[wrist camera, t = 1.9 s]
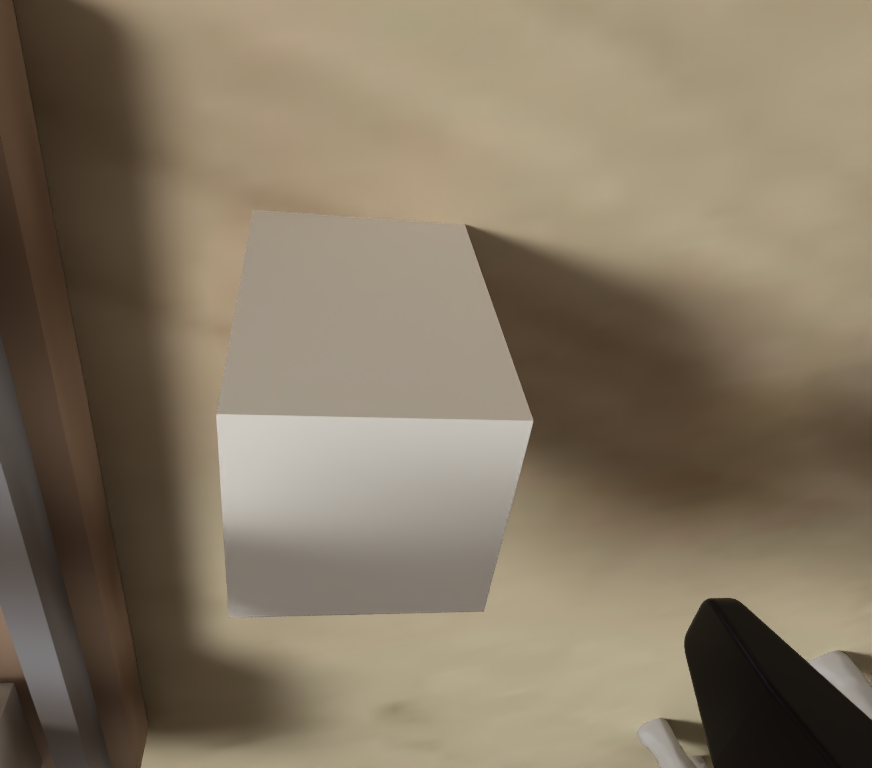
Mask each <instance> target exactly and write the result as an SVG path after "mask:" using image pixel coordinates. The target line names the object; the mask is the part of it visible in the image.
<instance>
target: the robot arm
mask: <svg viewBox="0 0 872 768" xmlns="http://www.w3.org/2000/svg"><path fill="white" fill-rule="evenodd" d="M684 647H685V654H686V659H687V663H688V667H689V671H690V675H691V679H692V683H693V687H694V691H695V695H696V699H697V703H698V707H699V711H700V716H701V720H702V724H703V728H704V732H705V736H706V740H707V744H708V748H709V751H710V755H711V759H712V762H713V766H714V768H872V719H870V718H869V717H868V716H867V715H866V714H865V713H864V712H863V711H862V710H860V709H859V708H858V707H857V706H856V705H855V704H854V703H853V702H851V701H850V700H849V699H848V698H847V697H846V696H845V695H844V694H843V693H841V692H840V691H839V690H838V689H837V688H836V687H835V686H834V685H833V684H831V683H830V682H829V681H828V680H827V679H826V678H825V677H824V676H823V675H821V674H820V673H819V672H818V671H817V670H816V669H815V668H814V667H813V666H811V665H810V664H809V663H808V662H807V661H806V660H805V659H804V658H802V657H801V656H800V655H799V654H798V653H797V652H796V651H795V650H794V649H792V648H791V647H790V646H789V645H788V644H787V643H786V642H785V641H784V640H782V639H781V638H780V637H779V636H778V635H777V634H776V633H775V632H774V631H772V630H771V629H770V628H769V627H768V626H767V625H766V624H765V623H764V622H762V621H761V620H760V619H759V618H758V617H757V616H756V615H755V614H753V613H752V612H751V611H750V610H749V609H748V608H747V607H746V606H745V605H743V604H742V603H741V602H739V601H738V600H736V599H732V598H710V599H707V600H705V601H704V602H703V603H702V604H701V606H700V608H699V610H698V612H697V614H696V615H695V617H694V619H693V621H692V623H691V625H690V627H689V629H688V631H687V633H686V636H685V641H684Z"/></svg>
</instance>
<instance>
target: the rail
mask: <svg viewBox="0 0 872 768" xmlns="http://www.w3.org/2000/svg"><path fill="white" fill-rule="evenodd" d="M147 732H148V721H147V716H146V711H145V705H144V700H143V695H142V689H141V684H140V679H139V673H138V668H137V663H136V657H135V652H134V647H133V641H132V636H131V630H130V625H129V620H128V614H127V609H126V604H125V598H124V593H123V588H122V582H121V577H120V572H119V566H118V561H117V556H116V550H115V545H114V540H113V534H112V529H111V524H110V518H109V513H108V508H107V502H106V497H105V492H104V486H103V481H102V476H101V470H100V465H99V460H98V454H97V449H96V443H95V438H94V433H93V427H92V422H91V417H90V411H89V406H88V401H87V395H86V390H85V385H84V379H83V374H82V369H81V363H80V358H79V353H78V347H77V342H76V337H75V331H74V326H73V321H72V315H71V310H70V305H69V299H68V294H67V289H66V283H65V278H64V272H63V267H62V262H61V256H60V251H59V246H58V240H57V235H56V230H55V224H54V219H53V214H52V208H51V203H50V198H49V192H48V187H47V182H46V176H45V171H44V166H43V160H42V155H41V150H40V144H39V139H38V134H37V128H36V123H35V118H34V112H33V107H32V102H31V96H30V91H29V85H28V80H27V75H26V69H25V64H24V59H23V53H22V48H21V43H20V37H19V32H18V27H17V21H16V16H15V11H14V5H13V0H0V768H140V767H141V762H142V757H143V752H144V747H145V742H146V737H147Z"/></svg>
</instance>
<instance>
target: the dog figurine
mask: <svg viewBox="0 0 872 768" xmlns="http://www.w3.org/2000/svg"><path fill="white" fill-rule="evenodd" d="M809 664H810V665H811V666H813V667H814V668H815V669H816V670H817V671H818V672H819V673H820V674H821V675H823V676H824V677H825V678H826V679H827V680H828V681H829V682H830V683H831V684H833V685H834V686H835V687H836V688H837V689H838V690H839V691H840V692H841V693H843V694H844V695H845V696H846V697H847V698H848V699H849V700H850V701H851V702H853V703H854V704H855V705H856V706H857V707H858V708H859V709H860V710H862V711H863V712H864V713H865V714H866V715H867V716H868V717H869V718H870V719H872V686H871V685H870V683H869V682H868V680H867V679H866V678H865V676H864V675H863V673H862V672H861V671H860V670H859V669H858V667H857V666H856V665H855V664H854V663H853V661H852V660H851V659H850V657H849V656H847V655H846V654H844V653H843V652H842V651H832V652H829V653H827V654H824V655H822V656H819V657H817V658H815V659H814V660H812V661H810V663H809ZM636 733H637V736H638V738H639V740H640V741H641V743H642V744H643V745H645V746H646V747H647V748H648V749H649V750H650V751H651V752H652V753H653V754H654V756H655V757H656V759H657V761H658V764H659V767H660V768H708V767H707V765H706V763H705V761H704V759H703V758H702V757H700V756H690V757H688V756H687V755H686V753H685V752H684V750H683V748H682V747H681V745H680V744H679V742H678V740H677V739H676V737H675V735H674V733H673V731H672V729H671V727H670V725H669V723H668V722H667V721H666V720H665V719H663V718H657V719H654V720H651V721H649V722H646V723H644V724H643V725H641V726H640V727H639V728H638V729H637V731H636Z"/></svg>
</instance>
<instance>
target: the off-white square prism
mask: <svg viewBox="0 0 872 768" xmlns="http://www.w3.org/2000/svg"><path fill="white" fill-rule="evenodd" d="M216 417H217V434H218V450H219V466H220V483H221V499H222V516H223V532H224V548H225V565H226V581H227V598H228V614H229V618H233V617H275V616H317V615H358V614H400V613H442V612H484V609H485V605H486V601H487V597H488V593H489V589H490V586H491V582H492V578H493V574H494V570H495V566H496V563H497V559H498V555H499V551H500V547H501V544H502V540H503V536H504V532H505V528H506V524H507V521H508V517H509V513H510V509H511V505H512V501H513V498H514V494H515V490H516V486H517V482H518V479H519V475H520V471H521V467H522V463H523V459H524V456H525V452H526V448H527V444H528V440H529V436H530V433H531V429H532V425H533V418H532V415H531V412H530V409H529V406H528V404H527V401H526V398H525V395H524V392H523V389H522V386H521V384H520V381H519V378H518V375H517V372H516V369H515V366H514V364H513V361H512V358H511V355H510V352H509V349H508V347H507V344H506V341H505V338H504V335H503V332H502V329H501V327H500V324H499V321H498V318H497V315H496V312H495V309H494V307H493V304H492V301H491V298H490V295H489V292H488V289H487V287H486V284H485V281H484V278H483V275H482V272H481V270H480V267H479V264H478V261H477V258H476V255H475V252H474V250H473V247H472V244H471V241H470V238H469V235H468V232H467V230H466V227H465V224H453V223H438V222H424V221H409V220H395V219H380V218H365V217H351V216H336V215H322V214H307V213H292V212H278V211H263V210H253V213H252V218H251V224H250V230H249V235H248V241H247V246H246V252H245V257H244V263H243V268H242V274H241V280H240V285H239V291H238V296H237V302H236V307H235V313H234V319H233V324H232V330H231V335H230V341H229V346H228V352H227V357H226V363H225V369H224V374H223V380H222V385H221V391H220V396H219V402H218V408H217V413H216Z"/></svg>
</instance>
